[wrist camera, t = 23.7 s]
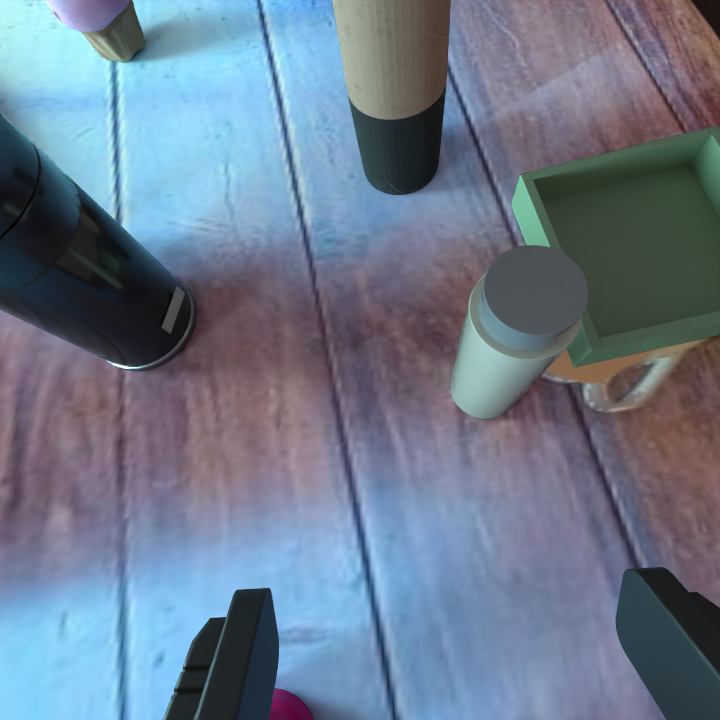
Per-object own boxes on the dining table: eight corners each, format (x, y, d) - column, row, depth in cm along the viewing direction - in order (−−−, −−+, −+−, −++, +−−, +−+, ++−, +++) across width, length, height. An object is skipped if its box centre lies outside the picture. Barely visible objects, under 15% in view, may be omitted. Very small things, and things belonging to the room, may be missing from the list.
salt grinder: (439, 401, 34) (454, 316, 19) (465, 344, 35) (499, 222, 20) (503, 430, 33) (575, 364, 18) (528, 370, 34) (616, 259, 19)
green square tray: (573, 367, 33) (592, 350, 30) (510, 204, 39) (519, 174, 35) (783, 321, 32) (827, 298, 29) (689, 160, 38) (717, 124, 34)
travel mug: (376, 127, 44) (343, -162, 25) (451, 141, 42) (477, -160, 23) (349, 188, 42) (291, -75, 23) (427, 205, 40) (433, -66, 21)
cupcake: (127, 17, 54) (65, -85, 45) (176, 37, 52) (122, -67, 43) (78, 65, 53) (4, -31, 43) (127, 88, 50) (59, -8, 41)
